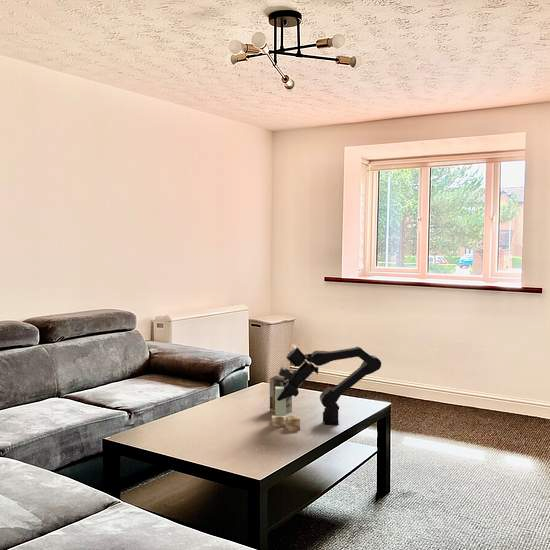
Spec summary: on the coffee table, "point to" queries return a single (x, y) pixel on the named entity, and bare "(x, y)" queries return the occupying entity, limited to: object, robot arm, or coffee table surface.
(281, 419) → the maple slab
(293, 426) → the oak cube
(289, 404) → the coffee box
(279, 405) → the sage block
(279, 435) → the coffee table surface
